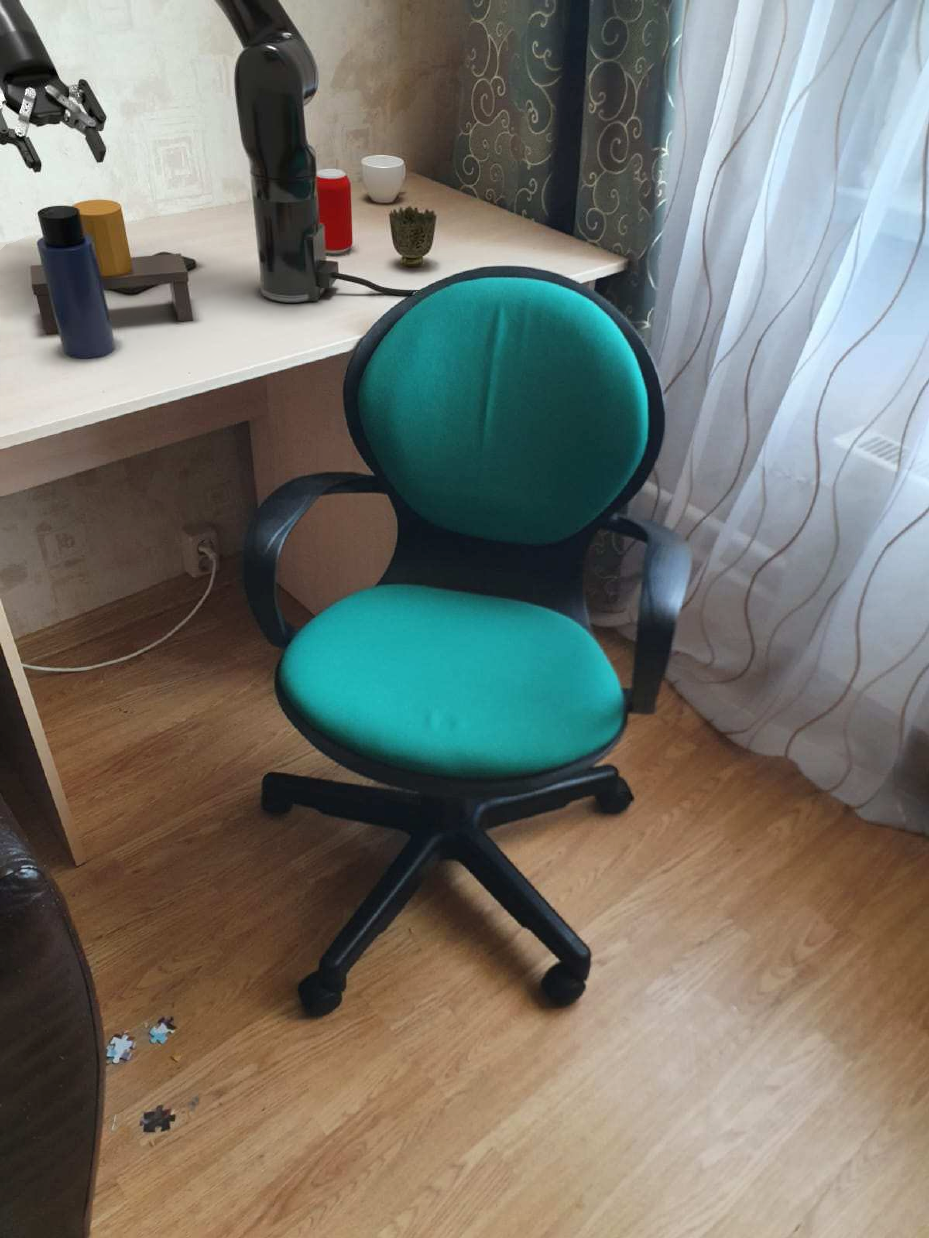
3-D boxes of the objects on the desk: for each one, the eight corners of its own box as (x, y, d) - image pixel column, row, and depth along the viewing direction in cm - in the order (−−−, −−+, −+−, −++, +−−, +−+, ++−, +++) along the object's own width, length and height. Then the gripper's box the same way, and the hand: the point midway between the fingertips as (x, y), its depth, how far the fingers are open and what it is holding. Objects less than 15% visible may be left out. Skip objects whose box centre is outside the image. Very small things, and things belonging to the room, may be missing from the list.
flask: (124, 340, 129) (96, 206, 117) (101, 361, 124) (70, 223, 112) (78, 335, 129) (46, 201, 118) (53, 355, 124) (18, 217, 113)
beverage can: (308, 247, 158) (303, 171, 150) (338, 240, 161) (335, 165, 153) (329, 258, 155) (325, 180, 147) (360, 251, 158) (358, 174, 150)
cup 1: (353, 199, 178) (352, 161, 174) (388, 188, 184) (388, 150, 180) (385, 209, 175) (384, 169, 170) (419, 197, 181) (420, 159, 177)
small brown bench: (188, 301, 139) (180, 253, 135) (194, 320, 134) (187, 271, 130) (42, 315, 134) (30, 265, 129) (44, 335, 129) (31, 284, 124)
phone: (199, 260, 149) (131, 290, 139) (200, 265, 150) (132, 295, 140) (162, 250, 152) (93, 279, 142) (163, 256, 152) (94, 284, 142)
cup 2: (443, 262, 156) (444, 211, 150) (422, 276, 150) (423, 224, 145) (402, 253, 158) (402, 203, 153) (381, 267, 153) (380, 216, 147)
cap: (140, 262, 132) (129, 202, 126) (119, 279, 127) (107, 217, 122) (97, 257, 132) (84, 197, 127) (75, 274, 128) (61, 212, 122)
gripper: (-42, 33, 117) (19, 155, 118) (70, 24, 124) (127, 139, 125) (-44, 73, 123) (14, 189, 124) (62, 62, 131) (116, 172, 132)
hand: (70, 164), depth 125 cm, fingers open, 8 cm apart
